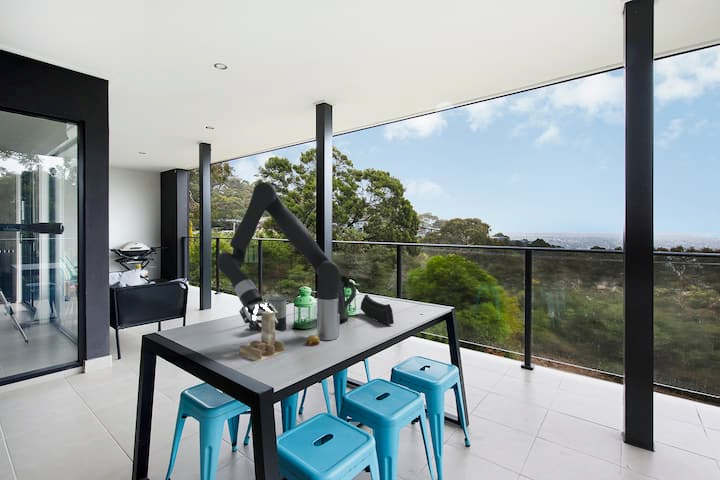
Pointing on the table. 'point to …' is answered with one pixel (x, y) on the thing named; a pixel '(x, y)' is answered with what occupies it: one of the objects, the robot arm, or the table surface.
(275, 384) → the table surface
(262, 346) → the offcut stack
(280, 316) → the milk frother
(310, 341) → the hamburger
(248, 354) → the pine rack
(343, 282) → the beer stein
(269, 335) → the tall birch block
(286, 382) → the table surface
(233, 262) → the robot arm
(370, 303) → the magazine
